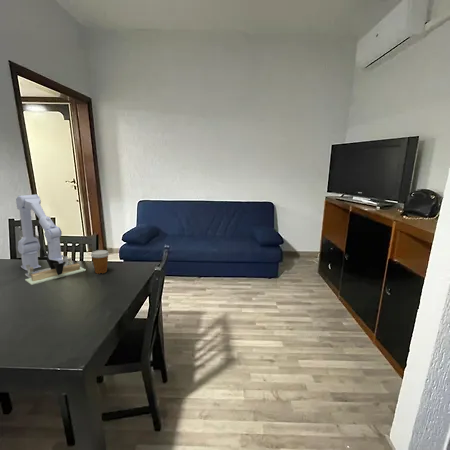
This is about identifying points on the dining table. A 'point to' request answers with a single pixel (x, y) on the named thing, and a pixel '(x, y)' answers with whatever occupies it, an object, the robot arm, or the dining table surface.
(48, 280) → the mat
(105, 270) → the disposable coffee cup
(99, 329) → the dining table surface
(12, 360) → the dining table surface
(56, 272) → the rail
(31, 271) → the rack
